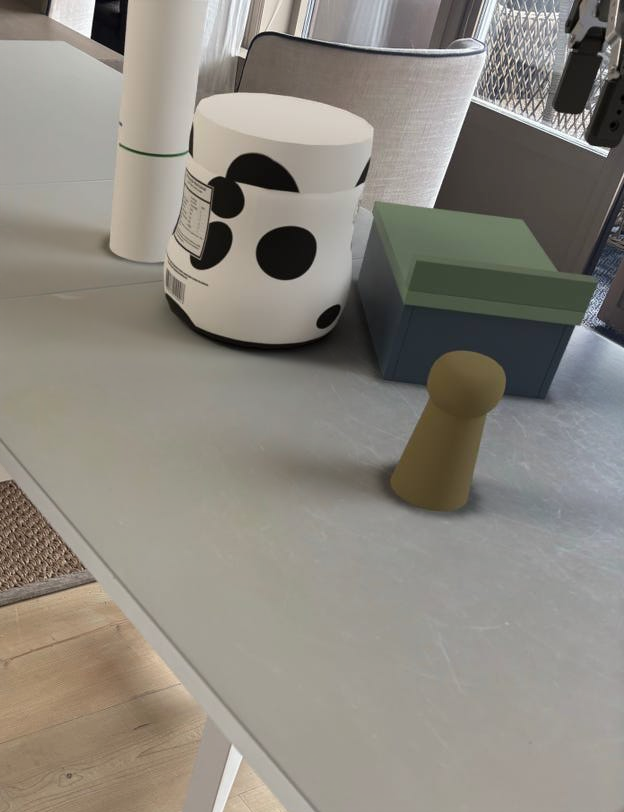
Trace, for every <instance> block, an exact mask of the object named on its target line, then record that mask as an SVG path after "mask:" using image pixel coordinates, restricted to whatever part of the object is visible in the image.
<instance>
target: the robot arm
mask: <svg viewBox="0 0 624 812" xmlns="http://www.w3.org/2000/svg"><path fill="white" fill-rule="evenodd" d="M564 33H565V34H569V36H568V40H567V49H568V50H571V51H569V52H568V55H567V58H566V60H565V64H564V66H563V70H562V73H561V75H560V79H559V81H558V84H557V86H556V90H555V93H554V96H553V99H552V101H551V107H552V109H553V110H554V111H555V112H556V113H559V114H565V115H566V114H567V115H575V116H577V115H580V114H582V113H583V112H584V111H585V109H586V106H587V104H588V100H589V98H590V96H591V92H592V90H593V87H594V84H595V81H596V79H597V76H598V73H599V71H600V68H601V66H602V62H603V60H604V56H602V55H600V54H604V53H605V52H606V51H607V49H608V47H609V46H610V54H609V60H608V61H609V62H608V69H607V74H606V76H607V77H606V78H605V80H604V82H603V85H602V88H601V90H600V93H599V95H598V97H597V100H596V103H595V106H594V108H593V112H592V114H591V117H590V120H589V122H588V125H587V127H586V130H585V133H584V141H585V142H586V143H587V144H588V145H589V146H592V147H599V148H606V149H615V148H617V147H618V146H619V145H620V144H621V142H622V140H623V138H624V0H573V2H572V5H571V8H570V10H569V14H568V15H567V19H566V20H565V23H564ZM599 53H600V54H599Z"/></svg>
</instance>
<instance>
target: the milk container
mask: <svg viewBox="0 0 624 812" xmlns="http://www.w3.org/2000/svg"><path fill="white" fill-rule="evenodd" d="M374 131H375V129H374V127H373V126H372V125H371V124H370V123H369V122H368V121H367V120H365V118H362V117H360V116H359V115H356V114H354V113H352V112H350V111H348V110H346V109H344V108H339V107H336V106H334V105H331V104H326V103H324V102H319V101H315V100H311V99H305V98H300V97H295V96H290V95H282V94H281V95H280V94H273V93H264V92H230V93H229V92H228V93H218V94H214V95H211V96H207V97H205V98H201V100H200V101H199V103H198V104H197V106H196V107H195V110H194V116H193V122H192V127H191V131H190V138H189V153H188V156H187V159H186V168H185V179H184V190H183V198H182V205H181V209H180V214H179V217H178V220H177V223H176V225H175V228H174V230H173V233H172V235H171V238H170V241H169V244H168V246H167V250H166V254H165V260H164V262H163V287H164V296H165V300H166V302H167V303H168V306H169V309H170V310H171V312H172V313H173V314H174V315H175V316H176V317H177V318H178V319H180V320H181V321H182V322H183V323H184V324H185V325H187V327H189V328H190V329H191V330H194V331H196V332H199V333H201V334H203V335H205V336H207V337H209V338H211V339H213V340H217V341H221V342H224V343H228V344H231V345H236V346H240V347H245V348H246V347H247V348H258V349H265V350H266V349H267V350H271V349H272V350H273V349H290V348H297V347H300V346H303V345H306V344H310V343H314V342H317V341H318V340H320V339H322V338H323V337H325V336H326V335H328V334H329V333H330V332H331V331H332V329H334V327H336V325H337V324H338V322H339V319H340V318H341V316H342V314H343V311H344V309H345V307H346V304H347V301H348V298H349V295H350V291H351V286H352V282H353V281H352V280H353V253H352V252H353V236H354V230H355V226H356V223H357V217H358V214H359V210H360V207H361V203H362V200H363V196H364V193H365V189H366V180H367V177H368V173H369V170H370V165H371V158H372V152H373V146H374V145H373V143H374Z"/></svg>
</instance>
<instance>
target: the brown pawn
mask: <svg viewBox="0 0 624 812" xmlns="http://www.w3.org/2000/svg"><path fill="white" fill-rule="evenodd" d="M505 384H506V377H505V373H504V370H503V368H502V367H501V366H500V365H499V364H498V363H497V362H496V361H495V360H493V359H491V358H489V357H488V356H485V355H482V354H480V353H476V352H471V351H453V352H449V353H445V354H444V355H442V356H441V357H440V358H439V359H438V360H436V361H435V363H434V364H433V366H432V368H431V370H430V374H429V377H428V380H427V385H426V390H427V393H428V396H429V399H428V400H427V402H426V404H425V406H424V409H422V413H421V415H420V417H419V419H418V421H417V423H416V425H415V427H414V429H413V431H412V433H411V435H410V437H409V439H408V441H407V443H406V445H405V447H404V450H403V451H402V454H401V456H400V458H399V459H398V461H397V464H396V466H395V468H394V470H393V472H392V474H391V477H390V480H389V484H390V486H391V489H392V490H393V491H394V492H395V494H396V495H397V496H398V497H400V498H401V499H403V500H404V501H405V502H407V503H409V504H411V505H412V506H413V505H414V506H416V507H418V508H422V509H424V510H428V511H437V512H450V511H457V510H459V509H461V508H463V507H464V506H466V504H467V503H468V499H469V495H470V490H471V487H472V486H471V485H472V483H473V482H472V481H473V477H474V474H475V469H476V463H477V460H478V455H479V451H480V448H481V447H480V446H481V442H482V437H483V432H484V428H485V424H486V419H487V414H488V413H490V412H491V411H493V410H494V409H495V408H496V407H497V406H498V405H499V403H500V402H501V400H502V398H503V396H504V394H503V393H504V390H505Z"/></svg>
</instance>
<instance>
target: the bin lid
mask: <svg viewBox="0 0 624 812" xmlns="http://www.w3.org/2000/svg"><path fill="white" fill-rule="evenodd" d="M371 214H372V217H373V218H374V220H375V223H376V226H377V229H378V232H379V234H380V237H381V240H382V243H383V246H384V249H385V252H386V254H387V257H388V260H389V263H390V266H391V269H392V272H393V275H394V277H395V280H396V283H397V286H398V289H399V292H400V295H401V297H402V300H403V303H404V304H406V305H414V306H422V307H431V308H439V309H447V310H455V311H463V312H471V313H479V314H487V315H495V316H503V317H511V318H519V319H527V320H536V321H544V322H552V323H560V324H568V325H576V326H577V327H580V326H581V325H582V323H583V321H584V318H585V316H586V313H587V311H588V308H589V306H590V304H591V302H592V298H593V297H594V294H595V291H596V290H597V287H598V284H599V282H598V281H597V280H596V278H595V276H593V275H588V274H580V273H572V272H564V271H558V269H557V268H556V267H555V265H554V264H553V262H552V260H551V258H549V256H548V255H547V254H546V251H545V250H544V248H542V246H541V245H540V243H539V242H538V239H536V237H535V235H534V234H533V233H532V231H531V230H530V228H529V227H528V225H527V224H526V222H525V221H524V220H523V219H521V218H511V217H505V216H498V215H497V216H496V215H490V214H489V215H488V214H480V213H474V212H473V213H472V212H464V211H457V210H449V209H442V208H434V207H433V208H432V207H426V206H417V205H410V204H402V203H395V202H386V201H378V200H375V201H374V202H373V207H372V210H371ZM576 326H575V327H576Z"/></svg>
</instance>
